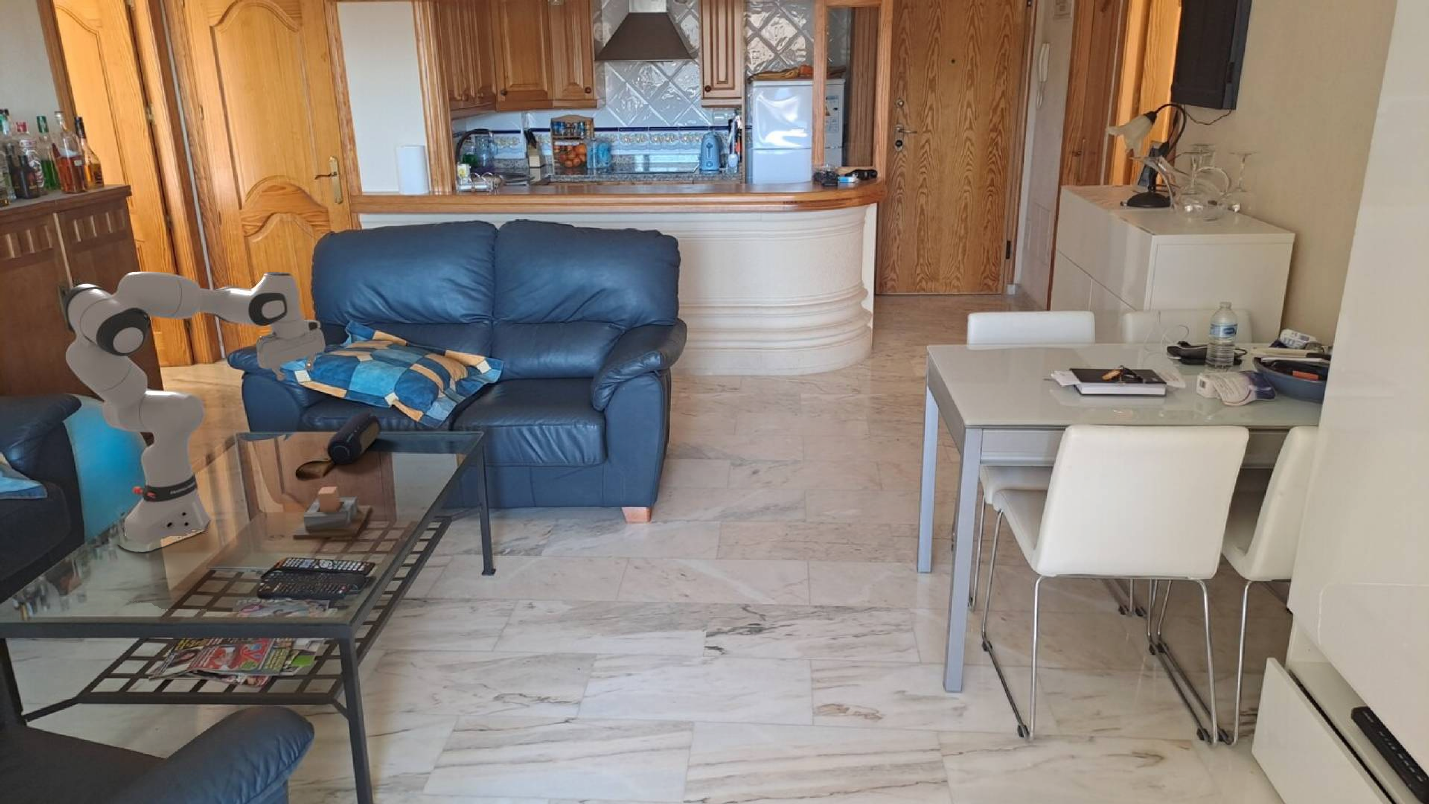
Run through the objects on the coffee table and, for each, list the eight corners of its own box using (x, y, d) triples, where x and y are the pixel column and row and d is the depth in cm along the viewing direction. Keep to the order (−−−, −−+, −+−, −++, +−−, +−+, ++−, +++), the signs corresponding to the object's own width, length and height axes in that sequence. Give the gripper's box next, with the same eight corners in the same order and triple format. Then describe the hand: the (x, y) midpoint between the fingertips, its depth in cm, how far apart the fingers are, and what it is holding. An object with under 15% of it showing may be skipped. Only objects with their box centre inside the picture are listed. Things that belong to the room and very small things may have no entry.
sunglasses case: (323, 478, 293) (309, 461, 291) (305, 489, 294) (291, 471, 293) (347, 454, 310) (334, 437, 308) (330, 464, 311) (317, 447, 309)
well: (354, 536, 259) (351, 519, 257) (293, 538, 258) (290, 521, 256) (371, 508, 274) (368, 492, 272) (313, 510, 273) (310, 494, 271)
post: (337, 523, 264) (332, 493, 260) (322, 523, 263) (317, 493, 260) (342, 516, 267) (337, 486, 264) (327, 516, 267) (322, 487, 264)
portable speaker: (358, 467, 300) (353, 438, 297) (326, 467, 301) (321, 437, 297) (386, 436, 324) (382, 408, 320) (357, 436, 324) (352, 408, 321)
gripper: (262, 339, 263) (271, 387, 268) (324, 320, 280) (332, 366, 285) (247, 336, 266) (256, 384, 271) (310, 318, 283) (317, 363, 288)
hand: (296, 374), depth 278 cm, fingers open, 8 cm apart
